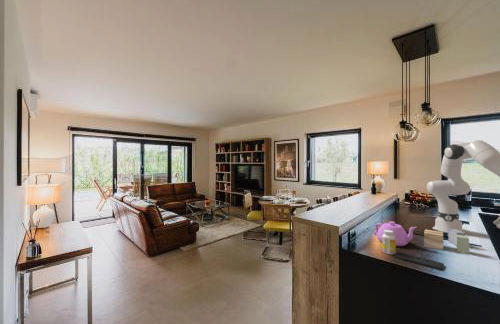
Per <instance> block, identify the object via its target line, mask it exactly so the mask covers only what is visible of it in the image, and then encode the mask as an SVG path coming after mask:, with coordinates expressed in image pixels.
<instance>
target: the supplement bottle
mask: <svg viewBox="0 0 500 324" xmlns="http://www.w3.org/2000/svg"><path fill="white" fill-rule="evenodd" d="M396 247H397V246H396V243H395V236H393V231H391V230H384V234H383V235H382V242H381V248H382V250H381V251H382V252H383V253H384V254H387V255H396V254H397V251H396V250H397V249H396Z"/></svg>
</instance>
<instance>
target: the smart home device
mask: <svg viewBox="0 0 500 324" xmlns="http://www.w3.org/2000/svg"><path fill="white" fill-rule="evenodd" d="M394 259H397V260H401V261H405V262H409V263H410V264H411V263H412V264H416V265H418V266H419V265H420V266H423V267H426V268H429V269H432V270H437V271H440V272H441V271H442V270H443V269H444V267H445V265H444V264H445V263H443V262H440V261H436V260H432V259H428V258H424V257H420V256H416V255H412V254H409V253H404V252H401V251H399V252H398V251H397V252H396V253H395V254H394Z"/></svg>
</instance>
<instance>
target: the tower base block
mask: <svg viewBox="0 0 500 324" xmlns="http://www.w3.org/2000/svg"><path fill="white" fill-rule="evenodd" d="M423 246H424V247H425V248H430V249H436V250H440V251H441V250H442V251H444V242H443V243H439V242H434V241H428V240H424V239H423Z"/></svg>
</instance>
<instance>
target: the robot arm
mask: <svg viewBox="0 0 500 324" xmlns="http://www.w3.org/2000/svg"><path fill="white" fill-rule="evenodd" d="M467 159H473V160H474V161H475V162H476V163H477V164H479V165H480V166H482V167H483V168H484V169H486V170H487V171H490V173H493V174H495V175H497V176H498V177H499V178H500V152H499V150H497V149H496V148H495V147H494V146H492V145H491V144H489V143H487V142H486V141H484V140H473V141H471V142H462V143H457V144H450V145H447V146H445V148H444V151H443V157H442V161H441V166H440V174H441V175H442V176H444V177H445V178H448V179H447V180H445V179H444V180H441V179H438V180H437V179H436V180H430V181H429V182H427V184H426V190H427V192H428V193H429V194H431V195H433V196H434V198H435V199H436V201H437V206H438V207H437V209H438V211H437V217H436V218H435V221H434V222H435V223H434V226H433V227H432V229H433V230H435V231H439V232H443V233H447V234H448V229H456V230H459V231H461V232H464V234H467V233H466V231H465V230H464V229H463V222H462V221H461V220H460V214H459V204H458V203H457V201H455V200H453V199H451V198H450V197H449V196H461V195H468V194H469V193H470V191H471V186H470V184H469V183H468V182H467V181H465V180H464V179H463V177H462V167H463V160H467ZM498 216H499V217H498V218H497V219H496V220H494V221H493V222H492V223H493V224H494V225H496V227H497V228H498V229H500V213H499V214H498Z"/></svg>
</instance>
